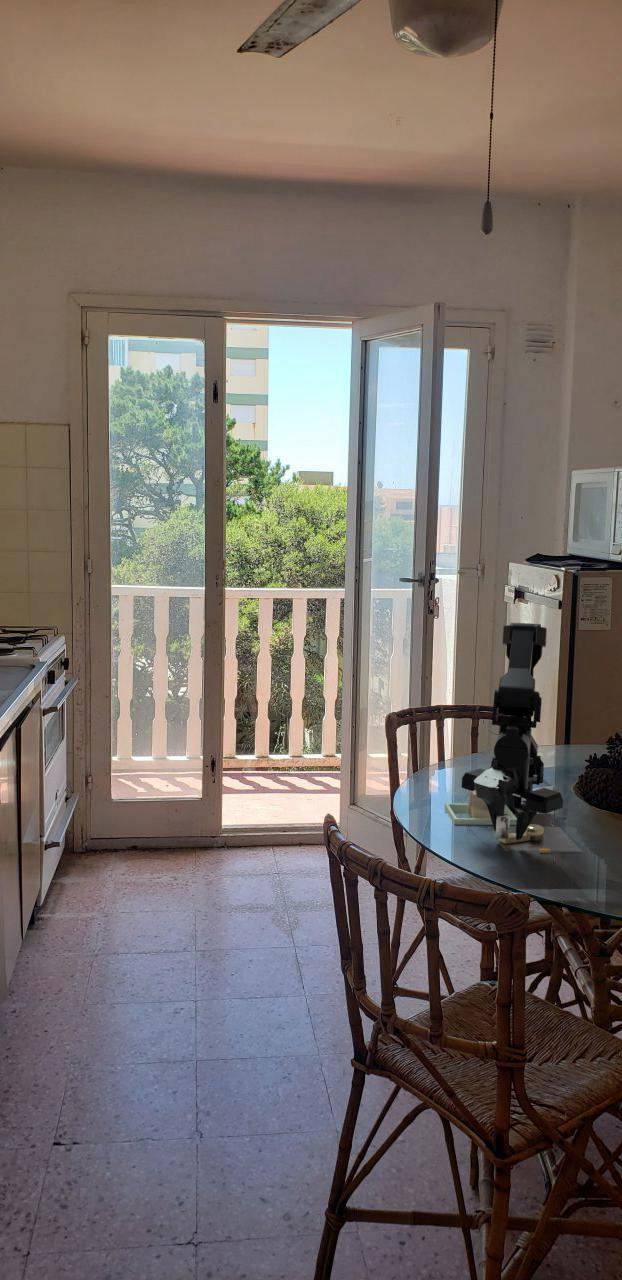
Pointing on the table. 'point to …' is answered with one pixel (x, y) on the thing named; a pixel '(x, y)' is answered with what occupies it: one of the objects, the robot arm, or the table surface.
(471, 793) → the block
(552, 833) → the crank base
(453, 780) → the table surface
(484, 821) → the tray
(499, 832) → the crank
